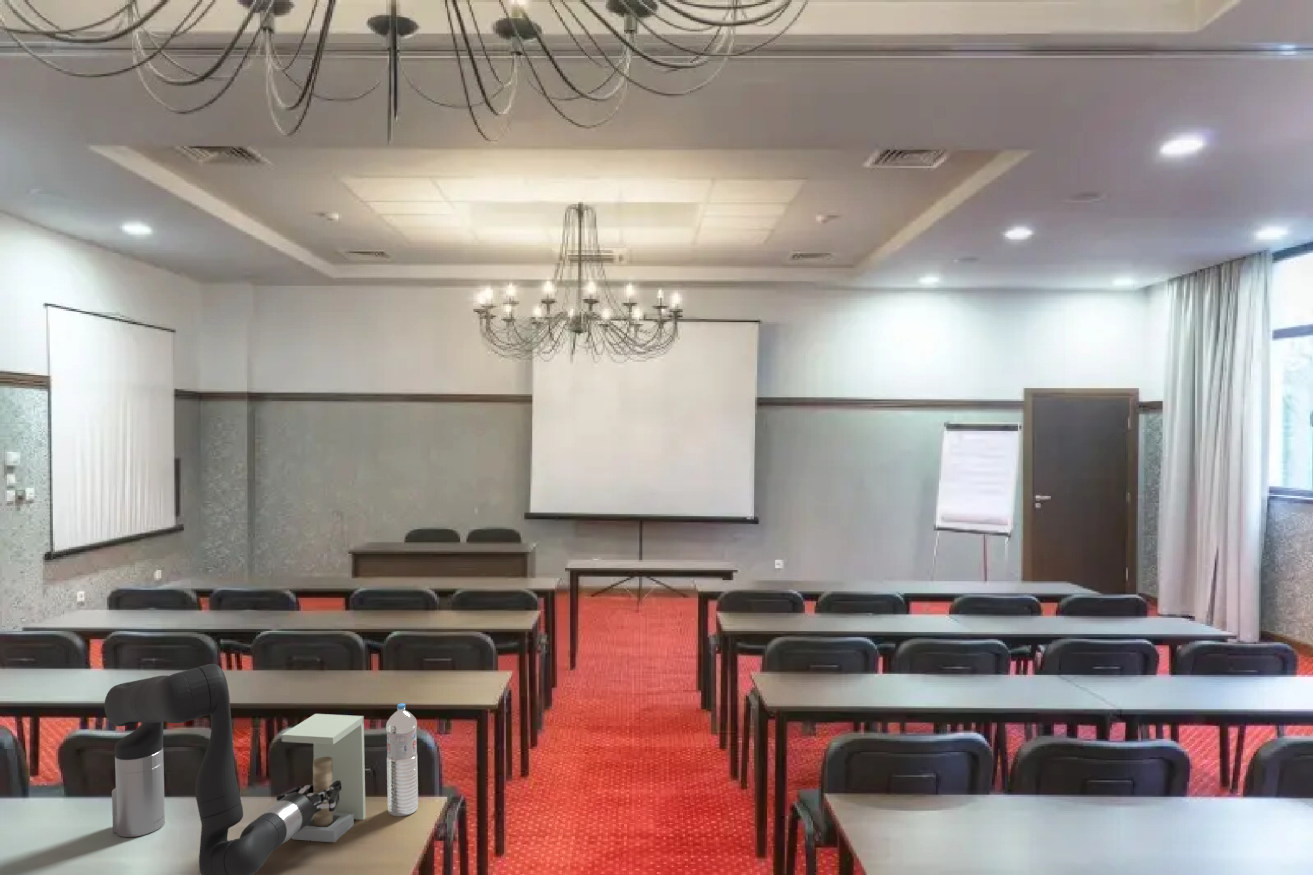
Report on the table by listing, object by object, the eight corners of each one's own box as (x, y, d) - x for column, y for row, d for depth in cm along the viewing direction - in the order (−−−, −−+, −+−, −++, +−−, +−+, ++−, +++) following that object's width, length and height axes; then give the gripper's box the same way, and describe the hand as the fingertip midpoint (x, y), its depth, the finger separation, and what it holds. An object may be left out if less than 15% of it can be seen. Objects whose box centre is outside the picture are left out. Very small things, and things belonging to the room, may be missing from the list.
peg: (310, 827, 185) (309, 763, 185) (320, 818, 189) (319, 756, 189) (327, 828, 185) (326, 764, 184) (336, 819, 189) (335, 757, 188)
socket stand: (283, 842, 183) (281, 734, 182) (317, 814, 195) (315, 713, 195) (335, 846, 181) (333, 737, 180) (365, 817, 194) (363, 716, 193)
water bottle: (409, 818, 193) (407, 710, 192) (382, 816, 194) (380, 708, 194) (423, 805, 200) (421, 700, 199) (396, 802, 201) (395, 698, 200)
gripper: (316, 803, 171) (358, 769, 188) (252, 799, 174) (300, 765, 191) (316, 840, 172) (359, 802, 189) (253, 835, 174) (301, 798, 191)
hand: (329, 784), depth 189 cm, fingers closed on peg, 4 cm apart
